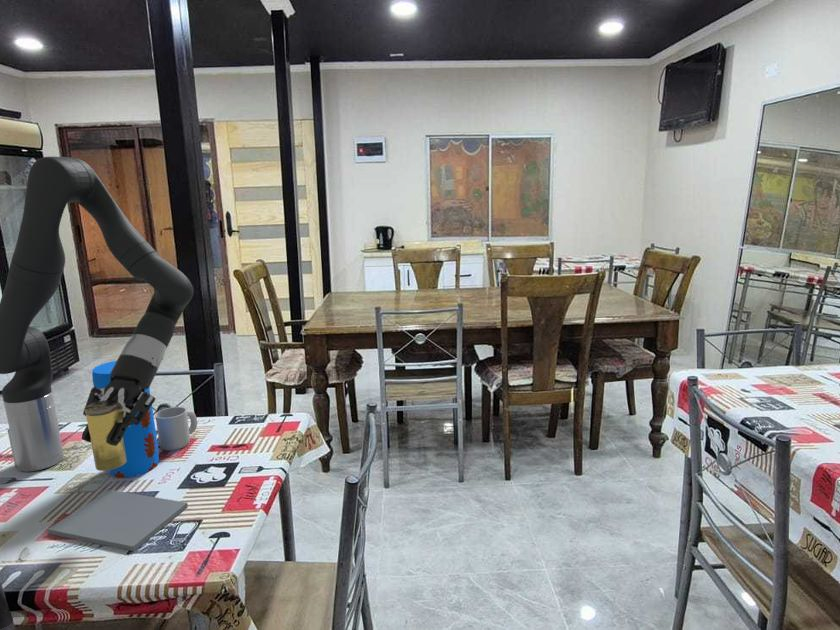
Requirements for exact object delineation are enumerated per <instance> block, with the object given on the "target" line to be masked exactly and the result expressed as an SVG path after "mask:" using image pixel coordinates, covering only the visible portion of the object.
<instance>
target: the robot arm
mask: <svg viewBox="0 0 840 630" xmlns="http://www.w3.org/2000/svg"><path fill="white" fill-rule="evenodd" d="M24 196H25V199H24V206H23V213H22V219H21V222H20V223H21V224H20V226H19V231H18V236H17V240H16V244H15V248H14V250H13V253H12V257H11V261H10V265H9V269H8V272H7V277H6V282H5V285H4V289H3V293H2V295H1V299H0V375H7V374H13V373H14V375H13V376H12V378H11V379H10V381H8V382H7V383H6V385H4V386H3V387H2V389H1V396H2V401H3V406H4V410H5V415H6V419H7V423H8V429H7V434H8V439H9V443H10V449H11V453H12V457H13V459H12V460H13V462H14V466H15V467H17V469H18V470H19V471H21V472H25V473H26V472H35V471H36V472H37V471H40V470H44V469H47V468H50V467H53V466H55V465H57V464H59V463H60V462H61V461H62V460H64V458H65V454H64V448H63V443H62V436H61V432H60V431H61V430H60V426H59V421H58V417H57V411H56V404H55V400H54V396H53V391H52V383H53V381H54V380H53V378H54V376H53V375H54V374H53V373H54V372H53V367H52V366H53V365H52V359H51V351H50V346H49V343H48V340H47V337H46V336H45V335H44V333H43V332H42V331H41V330H39V329H38V328H37V327H34V326H30V325H31V324H32V322H33V321H34V319H35V318H36V317H37V315H38V314H39V313H40V312H41V310H42V309H44V307H45V306H46V305H47V303H49V301H50V300H51V299H52V297H53V296H54V295H55V293H56V292H57V290H58V289H59V285H60V283H61V280H62V276H63V273H64V271H65V265H66V255H65V250H64V246H63V244H62V241H61V240H62V239H61V236H60V225H61V221H62V218H63V214H64V211H65V208H66V206H67V205H68V204H69V203H77V204H78V205H79V206H80V207H82V208H83V209H84V210H85V211H86V212H88V214H89V215H90V216H91V217H92V218H93V219H94V220H95V222H96V224H97V225H98V227H99V229H100V231H101V233H102V237H103V239H104V241H105V244H106V246H107V247H108V250H109V251H110V254H112V255H113V256H114V258H115V259H116V260H117V262H118V263H120V265H121V266H123V268H124V269H125V270H126V271H127V272H129V274H130V275H131V276H132V277H133V278H134V279H136V280H137V281H142V282H143V281H145V282H146V283H147V284H149V286H151V287H152V288H153V289H154V290H155V291H154V292H153V294H152V296H151V299H150V301H149V303H148V306H147V308H146V309H145V313H144V315H143V316H142V317H141V318H140V319H139V322H138V323H137V325H136V327H135V329H134V331H133V332H132V335H131V336H130V338H129V339H128V341H127V342H126V343H125V345H124V346H123V349H122V351H121V353H120V354H119V356H118V358H117V360H116V361H117V362H116V364H115V365H114V367H113V369H112V371H111V373H110V377H111V381H110V383H109V384H108V385H107V386H106V387H105V388H102V389H98V388H96V387H94V386H93V387H92V388H91V389H90V392H89V395H88V398H87V401H86V404H85V407H86V406H88V405H90V404H92V403H95V402H99V401H104V400H115V401H117V402H118V417H117V422H118V423H115V424H114V426H113V428H112V430H111V432H110V434H109V436H108V438H107V440H106V442H107V443H108V444H110V445H113V446H116V445H117V444H118V443H119V442H120V441H121V439H122V437H123V435H124V433H125V431H126V429H127V427H129V426H130V425H133V424H135V425H138V424H139V423H140V422H141V420H142V419H143V417H144V416H145V414H146V413H147V412H148V410H149V409H150V407H151V406H152V407H153V404H154V403H155V401H156V397H154V395H152V394H151V393H150V394H148V393H147V392H145V389H148V388H150V387H151V385H152V383H153V381H154V379H155V377H156V374H157V372H158V370H159V368H160V367H161V365H162V364H161V363H162V362H163V360H164V357H165V353H166V351H167V348H168V346H169V344H170V343H171V340H172V338H173V336H174V334H175V330H176V325H177V323H178V321H179V319H180V318H181V315H182V313H183V312H184V310H185V309H186V307H187V305H188V304H189V303H190V302H191V301H192V298H193V297H194V291H195V290H194V287H193V284H192V282H191V281H190V279H189V278H188V277H187V275H185V274H184V272H182V271H181V270H180V269H178V268H177V267H175V266H174V265H173V264H172V263H170V262H169V261H167V260H165V259H164V258H162V257H161V255H160V254H159V253H158V252H157V250H155V249H154V248H153V247H152V245H151V244H150V243H149V241H147V240H146V239H145V237H143V236H142V235H141V233H140V232H139V231H138V230H137V229H136V228H135V226H133V224H132V223H131V222H130V220H129V219H128V218H127V216H126V215H125V213H123V211H122V210H121V207H120V206H119V205H118V203H117V202H116V200H114V197H113V196H112V195H111V193H110V192H109V190H108V189H107V187H106V186H105V184H104V183H103V181H102V180H101V179H100V177H99V176H98V174H97V173H96V171H95V170H94V169H93V168H92V167H91V165H89V164H88V163H87V162H86V161H84V160H82V159H80V158H76V157H72V156H70V157H69V156H44V157H40V158H38V159H37V160H35V161H34V162H33V164H32V165H31V167H30V169H29V172H28V176H27V181H26V189H25V195H24ZM85 407H84V408H85ZM138 411H139V413H138ZM137 413H138V415H137V416H136V414H137ZM82 414H83V416H84V417H86V414H85V410H83V412H82ZM135 416H136V417H135ZM81 440H82V441H84V442H87V443H91V439H90V434H89V428H88V423H86V426H85V427H84V430H83V432H82V433H81Z"/></svg>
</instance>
